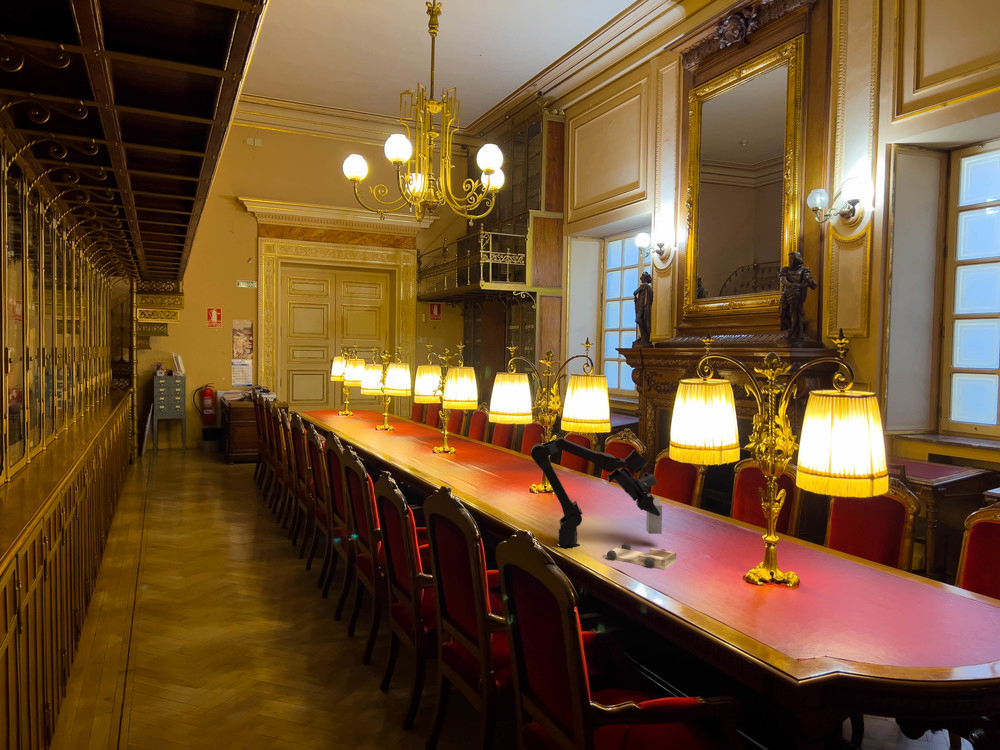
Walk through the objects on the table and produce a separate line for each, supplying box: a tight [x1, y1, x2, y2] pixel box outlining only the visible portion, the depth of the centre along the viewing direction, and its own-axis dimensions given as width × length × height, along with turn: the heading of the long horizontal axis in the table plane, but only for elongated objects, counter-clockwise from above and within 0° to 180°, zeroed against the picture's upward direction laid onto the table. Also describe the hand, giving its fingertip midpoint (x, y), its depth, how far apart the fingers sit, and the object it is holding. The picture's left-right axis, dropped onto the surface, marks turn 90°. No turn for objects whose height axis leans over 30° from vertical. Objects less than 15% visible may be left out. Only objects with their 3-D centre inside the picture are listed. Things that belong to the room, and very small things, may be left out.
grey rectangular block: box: [645, 496, 663, 535], centre depth 243 cm, size 4×5×12 cm
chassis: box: [602, 542, 677, 570], centre depth 229 cm, size 22×13×3 cm, turn 54°
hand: (658, 513), depth 243 cm, fingers closed on grey rectangular block, 5 cm apart
